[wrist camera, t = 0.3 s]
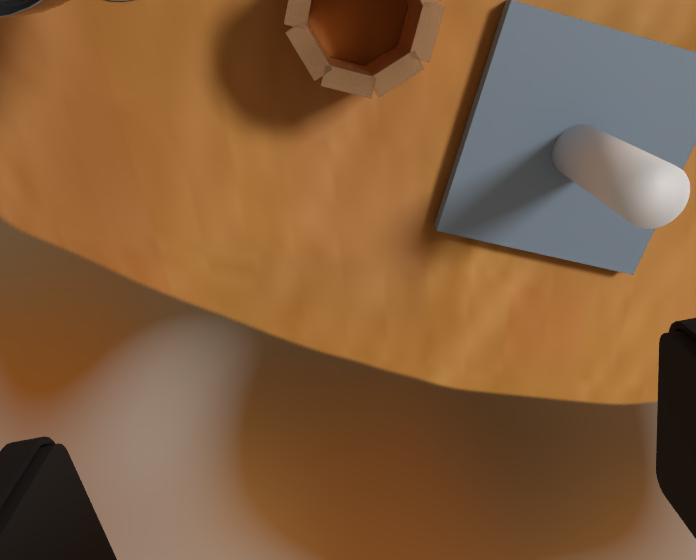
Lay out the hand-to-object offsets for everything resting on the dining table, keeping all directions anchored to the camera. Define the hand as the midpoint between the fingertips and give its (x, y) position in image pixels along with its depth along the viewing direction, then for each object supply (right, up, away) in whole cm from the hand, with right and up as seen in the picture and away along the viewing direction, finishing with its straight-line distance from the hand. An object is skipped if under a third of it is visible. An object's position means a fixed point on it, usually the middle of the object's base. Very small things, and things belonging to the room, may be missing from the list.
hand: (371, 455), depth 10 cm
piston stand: (+13, +11, +27) cm, 32 cm away
